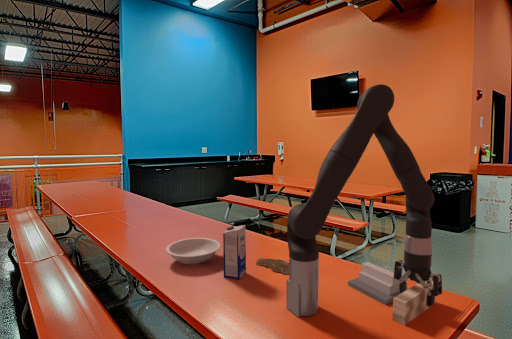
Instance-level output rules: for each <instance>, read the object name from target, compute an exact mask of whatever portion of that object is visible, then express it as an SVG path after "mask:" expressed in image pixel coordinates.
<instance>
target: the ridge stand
mask: <svg viewBox="0 0 512 339" xmlns="http://www.w3.org/2000/svg"><path fill="white" fill-rule="evenodd" d="M347 286H348V287H351V288H353V289H355V290H356V291H359V292H360V293H362V294H363V295H366V296H368V297H369V298H372V299H373V300H375V301H376V302H379V303H381V304H382V305H384V306H386V305H388V304H390V303H393V298H394V297H396V296H398V295H399V294H401V293H400V290H399V281H398V280H397V279H395V278H394V271H393V272H392V271H390V270H388V269H386V268H383V267H380V266H378V265H376V264H373V263H371V262H368V261H365V262H362V263H361V271H359V272H358V277H356V278H353V279H350V280H348V281H347ZM408 289H409V287H407V290H408Z"/></svg>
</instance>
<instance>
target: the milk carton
mask: <svg viewBox="0 0 512 339" xmlns="http://www.w3.org/2000/svg"><path fill="white" fill-rule="evenodd" d="M246 232H247V231H246V224H244V225H243V224H242V225H238V226H234V225H230V226H227V227H226V230H225V231H223V232H222V252H223V253H222V256H223V278H225V279H231V280H238V281H240V280H241V279H242V278H243V277H244V276H245V275H246V273H247V253H246V252H247V250H246V249H247V247H246V241H247V240H246V236H247V235H246Z"/></svg>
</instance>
